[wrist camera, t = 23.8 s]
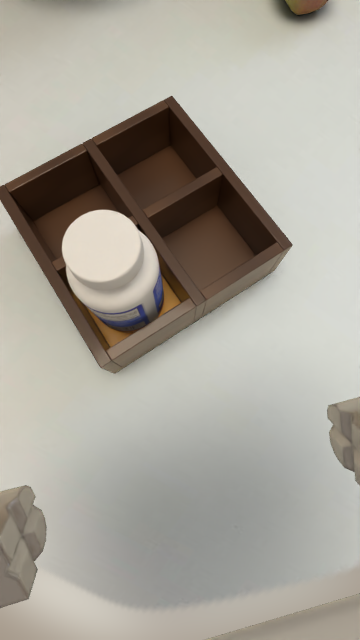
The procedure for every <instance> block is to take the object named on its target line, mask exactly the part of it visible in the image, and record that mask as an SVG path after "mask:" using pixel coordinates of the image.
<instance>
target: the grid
mask: <svg viewBox="0 0 360 640" xmlns="http://www.w3.org/2000/svg"><path fill="white" fill-rule="evenodd" d="M0 200H1V202H2V204H3V205H4V207H5V209H6V210H7V212H8V214H9V215H10V217H11V219H12V220H13V222H14V224H15V225H16V227H17V229H18V230H19V232H20V234H21V235H22V237H23V239H24V241H25V242H26V244H27V246H28V247H29V249H30V251H31V252H32V254H33V256H34V257H35V259H36V261H37V262H38V264H39V266H40V267H41V269H42V271H43V272H44V274H45V276H46V277H47V279H48V281H49V282H50V284H51V286H52V287H53V289H54V291H55V292H56V294H57V296H58V297H59V299H60V301H61V302H62V304H63V306H64V307H65V309H66V311H67V312H68V314H69V316H70V317H71V319H72V321H73V322H74V324H75V326H76V327H77V329H78V331H79V332H80V334H81V336H82V337H83V339H84V341H85V342H86V344H87V346H88V347H89V349H90V351H91V353H92V354H93V356H94V358H95V359H96V361H97V363H98V364H99V366H100V367H101V368H103V369H105V370H107V371H110V372H112V373H117V372H118V371H120V370H121V369H123V368H124V367H126V366H127V365H129V364H131V363H132V362H134V361H135V360H137V359H138V358H140V357H141V356H143V355H144V354H146V353H148V352H149V351H151V350H152V349H154V348H155V347H157V346H158V345H160V344H161V343H163V342H165V341H166V340H168V339H169V338H171V337H172V336H174V335H175V334H177V333H178V332H180V331H182V330H183V329H185V328H186V327H188V326H189V325H191V324H192V323H194V322H196V321H197V320H199V319H200V318H202V317H203V316H205V315H206V314H208V313H209V312H211V311H213V310H214V309H216V308H217V307H219V306H220V305H222V304H223V303H225V302H226V301H228V300H230V299H231V298H233V297H234V296H236V295H237V294H239V293H240V292H242V291H243V290H245V289H247V288H248V287H250V286H251V285H253V284H254V283H256V282H257V281H259V280H261V279H262V278H264V277H265V276H267V275H268V274H270V273H271V272H273V271H274V270H275V269H276V268H277V266H278V265H279V263H280V262H281V261H282V259H283V258H284V256H285V255H286V254H287V252H288V251H289V250H290V248H291V247H292V243H291V242H290V241H289V239H288V238H287V237H286V236H285V235H284V233H283V232H282V231H281V230H280V228H279V227H278V226H277V225H276V223H275V222H274V221H273V220H272V218H271V217H270V216H269V215H268V214H267V212H266V211H265V210H264V209H263V207H262V206H261V205H260V204H259V202H258V201H257V200H256V199H255V198H254V196H253V195H252V194H251V193H250V191H249V190H248V189H247V188H246V186H245V185H244V184H243V183H242V181H241V180H240V179H239V178H238V177H237V175H236V174H235V173H234V172H233V170H232V169H231V168H230V167H229V165H228V164H227V163H226V162H225V161H224V159H223V158H222V157H221V156H220V154H219V153H218V152H217V151H216V149H215V148H214V147H213V146H212V144H211V143H210V142H209V141H208V140H207V138H206V137H205V136H204V135H203V133H202V132H201V131H200V130H199V128H198V127H197V126H196V125H195V124H194V122H193V121H192V120H191V119H190V117H189V116H188V115H187V114H186V112H185V111H184V110H183V109H182V107H181V106H180V105H179V104H178V103H177V101H176V100H175V99H174V98H173V96H170V97H168V98H167V99H165V100H164V101H161V102H159V103H157V104H155V105H153V106H151V107H150V108H148V109H146V110H144V111H142V112H140V113H138V114H136V115H135V116H133V117H131V118H129V119H127V120H125V121H123V122H121V123H119V124H118V125H116V126H114V127H112V128H110V129H108V130H106V131H104V132H103V133H101V134H99V135H97V136H95V137H93V138H92V139H89V140H88V141H86V142H84V143H83V144H80V145H78V146H76V147H74V148H73V149H71V150H69V151H67V152H65V153H63V154H61V155H59V156H58V157H56V158H54V159H52V160H50V161H48V162H46V163H44V164H42V165H41V166H39V167H37V168H35V169H33V170H31V171H29V172H27V173H26V174H24V175H22V176H20V177H18V178H16V179H14V180H12V181H10V182H9V183H7V184H5V185H2V186H0ZM95 210H111V211H115V212H118V213H121V214H123V215H124V216H126V217H127V218H129V219H130V220H131V221H132V222H133V223H134V225H135V226H136V228H137V229H138V230H139V231H140V232H142V233H143V234H144V235H145V236H146V237H147V238H148V239H149V240H150V242H151V243H152V245H153V247H154V249H155V251H156V253H157V257H158V261H159V266H160V272H161V279H162V285H163V291H164V302H163V307H162V310H161V312H160V314H159V316H158V317H157V318H156V319H155V320H153V321H152V322H150V323H148V324H147V325H145V326H144V327H142V328H141V329H139V330H137V331H136V332H120V331H117V330H114V329H112V328H110V327H108V326H107V325H106V324H104V323H103V322H102V321H101V320H100V319H99V318H98V317H97V316H96V315H95V314H94V313H93V312H92V311H91V310H90V309H89V308H88V307H87V306H86V305H84V304H83V303H82V302H81V301H80V299H79V298H78V297H77V296H76V295H75V294H74V292H73V291H72V289H71V287H70V284H69V282H68V279H67V274H66V263H65V261H64V258H63V254H62V242H63V238H64V235H65V233H66V231H67V229H68V227H69V226H70V225H71V224H72V223H73V222H74V221H75V220H76V219H77V218H79V217H80V216H82V215H84V214H86V213H88V212H91V211H95Z"/></svg>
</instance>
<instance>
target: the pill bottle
mask: <svg viewBox="0 0 360 640" xmlns="http://www.w3.org/2000/svg"><path fill="white" fill-rule="evenodd" d="M62 254H63V258H64V261H65V263H66V274H67V279H68V282H69V284H70V287H71V289H72V291H73V292H74V294H75V295H76V296H77V297H78V298H79V299H80V301H81V302H82V303H83V304H84V305H86V306H87V307H88V308H89V309H90V310H91V311H92V312H93V313H94V314H95V315H96V316H97V317H98V318H99V319H100V320H101V321H102V322H103V323H104V324H106V325H107V326H108V327H110V328H112V329H114V330H117V331H120V332H136V331H137V330H139V329H141V328H142V327H144V326H145V325H147V324H148V323H150V322H152V321H153V320H155V319H156V318H157V317H158V316H159V314H160V312H161V310H162V307H163V302H164V291H163V285H162V279H161V272H160V266H159V261H158V257H157V253H156V251H155V249H154V247H153V245H152V243H151V242H150V240H149V239H148V238H147V237H146V236H145V235H144V234H143V233H142V232H140V231H139V230H138V229H137V228H136V226H135V225H134V223H133V222H132V221H131V220H130V219H129V218H127V217H126V216H124V215H123V214H121V213H118V212H115V211H111V210H95V211H91V212H88V213H86V214H84V215H82V216H80V217H79V218H77V219H76V220H75V221H74V222H73V223H72V224H71V225H70V226H69V227H68V229H67V231H66V233H65V235H64V238H63V242H62Z"/></svg>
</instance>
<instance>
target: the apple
mask: <svg viewBox="0 0 360 640" xmlns="http://www.w3.org/2000/svg"><path fill="white" fill-rule="evenodd" d="M285 1H286V2H287V4H288V6H289V8H290V9H291V10H292V11H293V12H294V13H295V14H297V15H301V14H307V13H310V12H313V11H316V10H318V9H320V8H321V7H323V6H324V5H325V4H326V2H327V1H328V0H285Z"/></svg>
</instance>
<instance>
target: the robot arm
mask: <svg viewBox="0 0 360 640" xmlns="http://www.w3.org/2000/svg"><path fill="white" fill-rule="evenodd" d="M327 416H328V419H329V420H330V421H331V422H332V424H333V426H332V428H331V430H330V431H329V436H330V443H331V446H332V448H333V451H334V454H335V455H336V457H337V459H338V460H339V462H340V463H341V464H342V465H343V466H344V468H346V469H349V470H351V471H353V472H355V481H356V482H357V483H358V484H359V485H360V397H357V398H354V399H350V400H346V401H342V402H339V403H335V404H331V405H328V409H327ZM34 500H35V495H34V493H33V491H32V489H31V487H29V486H26V485H25V486H21V487H17V488H13V489H9V490H4V491H0V608H2V607H5V606H8V605H11V604H14V603H18V602H20V601H24V600H27V599H29V596H30V593H31V590H32V586H33V583H34V580H35V576H36V573H37V570H38V569H37V567H36V565H35V563H34V561H35V560H36V559H37V558H38V556H39V555H40V554H41V553H42V552H43V549H44V545H45V542H46V528H47V527H46V522H45V517H44V515H43V512H42V510H41V509H39V508H37V507H35V506H34V505H33V502H34ZM206 640H360V594H356V595H353V596H350V597H346V598H343V599H340V600H336V601H333V602H330V603H326V604H323V605H320V606H316V607H313V608H310V609H306V610H303V611H300V612H296V613H293V614H290V615H286V616H283V617H280V618H276V619H273V620H269V621H266V622H263V623H260V624H256V625H253V626H249V627H246V628H243V629H239V630H236V631H233V632H229V633H226V634H222V635H219V636H216V637H212V638H209V639H206Z"/></svg>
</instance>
